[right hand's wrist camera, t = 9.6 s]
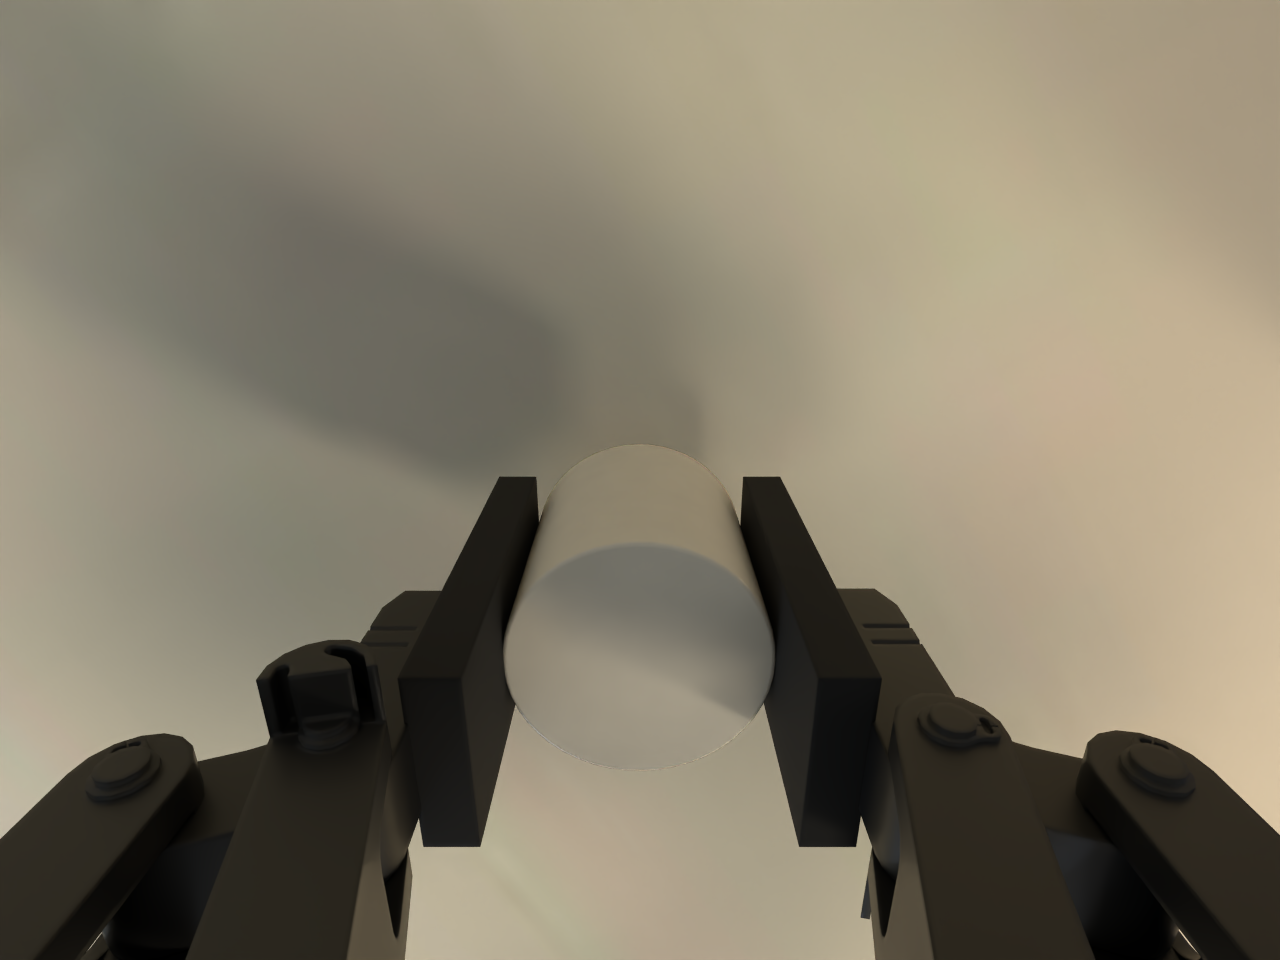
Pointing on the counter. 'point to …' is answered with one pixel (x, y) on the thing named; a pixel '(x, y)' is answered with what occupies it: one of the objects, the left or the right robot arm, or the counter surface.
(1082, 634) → the counter surface
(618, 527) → the can
